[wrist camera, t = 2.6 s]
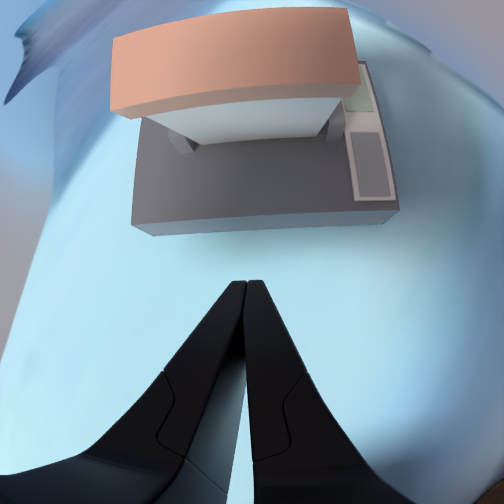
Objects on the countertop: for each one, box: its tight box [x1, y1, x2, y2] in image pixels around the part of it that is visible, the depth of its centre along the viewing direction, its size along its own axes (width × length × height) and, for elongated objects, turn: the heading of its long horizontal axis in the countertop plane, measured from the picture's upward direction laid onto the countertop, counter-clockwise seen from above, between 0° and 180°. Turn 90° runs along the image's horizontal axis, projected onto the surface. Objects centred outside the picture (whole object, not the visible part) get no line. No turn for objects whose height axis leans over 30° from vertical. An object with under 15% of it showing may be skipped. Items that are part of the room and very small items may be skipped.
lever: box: [110, 7, 361, 145], centre depth 11 cm, size 2×6×10 cm, turn 92°
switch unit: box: [131, 61, 400, 236], centre depth 17 cm, size 10×14×5 cm
